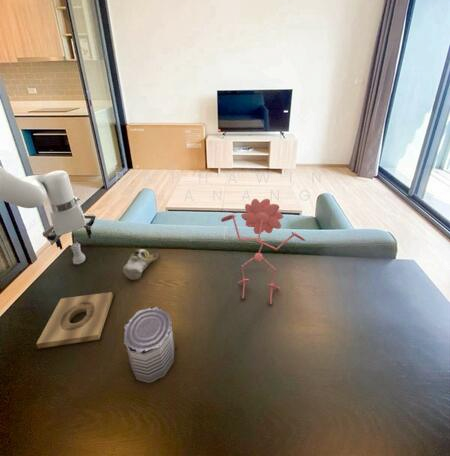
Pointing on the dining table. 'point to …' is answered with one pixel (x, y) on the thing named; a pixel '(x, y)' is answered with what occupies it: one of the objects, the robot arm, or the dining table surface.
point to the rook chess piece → (77, 254)
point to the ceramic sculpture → (138, 263)
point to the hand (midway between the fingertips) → (75, 241)
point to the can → (149, 343)
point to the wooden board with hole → (81, 331)
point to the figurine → (261, 229)
